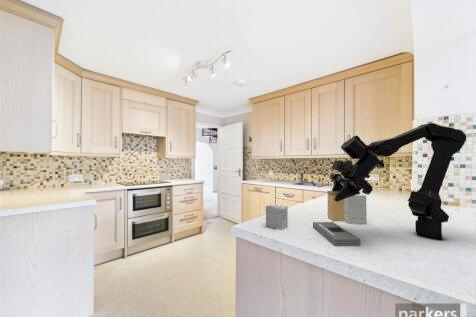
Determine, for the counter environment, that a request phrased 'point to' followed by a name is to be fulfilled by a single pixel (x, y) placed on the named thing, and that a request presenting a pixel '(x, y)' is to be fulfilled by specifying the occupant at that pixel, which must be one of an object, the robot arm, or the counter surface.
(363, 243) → the counter surface
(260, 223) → the counter surface
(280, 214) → the medicine box
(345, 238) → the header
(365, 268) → the counter surface
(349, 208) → the supplement box
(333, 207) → the plug
